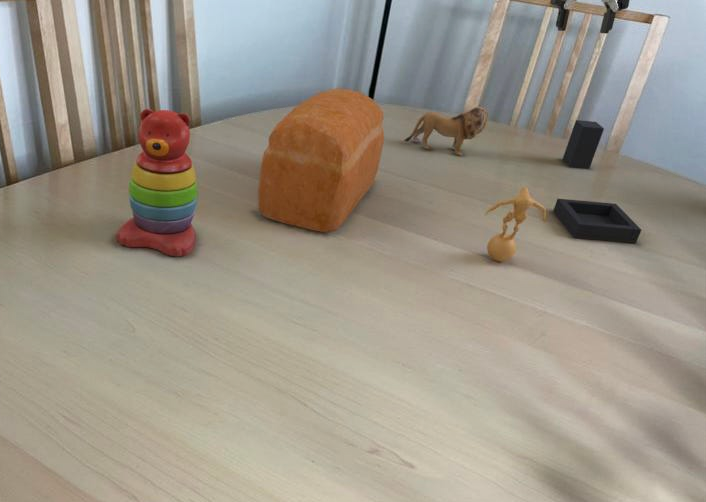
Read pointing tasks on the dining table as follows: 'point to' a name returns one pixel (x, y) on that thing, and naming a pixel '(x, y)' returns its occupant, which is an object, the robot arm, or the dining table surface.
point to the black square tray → (596, 221)
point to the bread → (321, 160)
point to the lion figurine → (451, 126)
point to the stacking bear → (162, 187)
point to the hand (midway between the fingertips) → (582, 32)
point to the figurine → (504, 244)
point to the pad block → (582, 144)
